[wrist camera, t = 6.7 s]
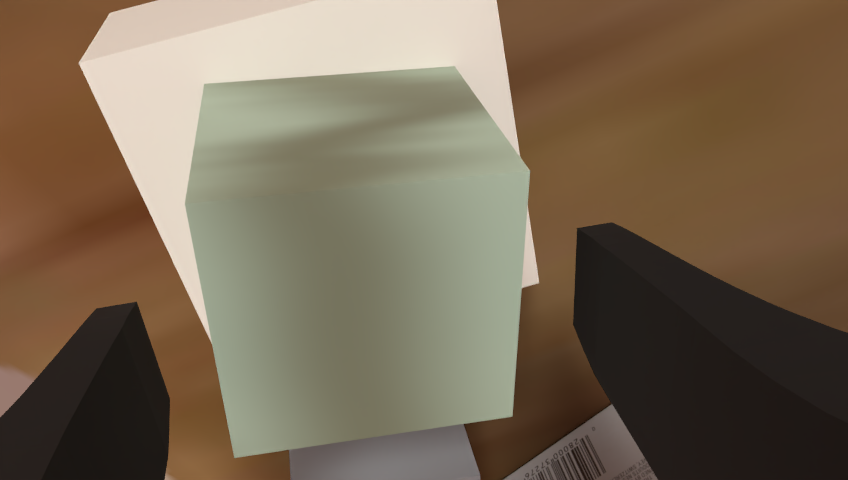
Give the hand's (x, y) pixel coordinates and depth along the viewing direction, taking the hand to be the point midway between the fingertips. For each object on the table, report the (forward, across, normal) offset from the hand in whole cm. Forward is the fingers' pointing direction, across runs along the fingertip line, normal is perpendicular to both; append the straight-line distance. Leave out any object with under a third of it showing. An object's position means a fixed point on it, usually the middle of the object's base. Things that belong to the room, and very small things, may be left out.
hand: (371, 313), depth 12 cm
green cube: (+5, 0, 0) cm, 5 cm away
